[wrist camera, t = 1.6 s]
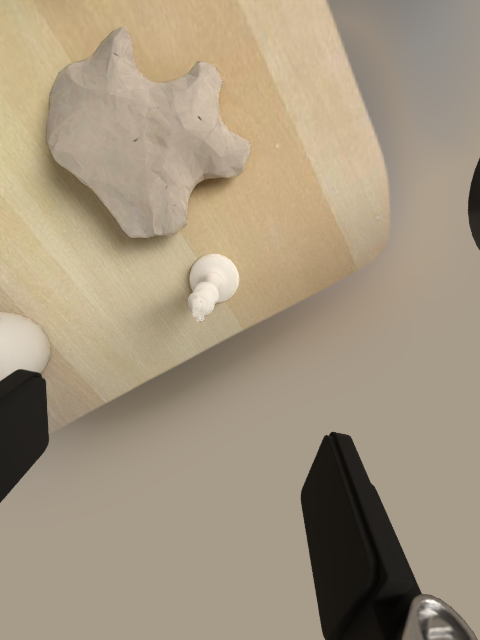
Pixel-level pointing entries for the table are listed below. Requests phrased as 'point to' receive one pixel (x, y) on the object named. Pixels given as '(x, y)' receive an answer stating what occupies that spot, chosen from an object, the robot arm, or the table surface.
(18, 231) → the table surface
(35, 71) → the table surface
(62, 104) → the stone
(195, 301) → the chess piece
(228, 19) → the table surface
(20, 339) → the ball
